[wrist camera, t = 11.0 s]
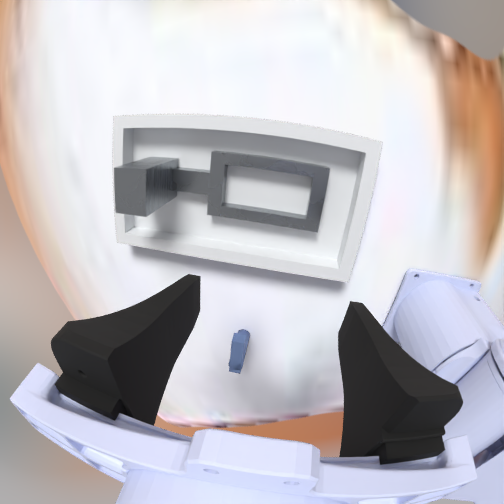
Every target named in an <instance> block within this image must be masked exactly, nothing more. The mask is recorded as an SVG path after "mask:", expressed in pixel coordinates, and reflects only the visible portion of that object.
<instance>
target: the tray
mask: <svg viewBox="0 0 504 504" xmlns="http://www.w3.org/2000/svg"><path fill="white" fill-rule="evenodd" d="M382 144H383V142H381V141H377V140H374V139H370V138H366V137H362V136H358V135H353V134H349V133H344V132H340V131H335V130H330V129H325V128H320V127H314V126H309V125H303V124H297V123H290V122H283V121H276V120H268V119H259V118H249V117H238V116H224V115H206V114H141V115H123V116H114V120H113V149H112V170H113V200H114V216H115V228H116V239H117V243H122V244H127V245H132V246H138V247H143V248H148V249H154V250H159V251H165V252H170V253H176V254H181V255H187V256H192V257H198V258H204V259H209V260H215V261H221V262H226V263H232V264H238V265H244V266H250V267H255V268H261V269H267V270H273V271H279V272H285V273H292V274H298V275H304V276H310V277H316V278H322V279H329V280H335V281H341V282H349V278H350V275H351V272H352V269H353V266H354V262H355V259H356V256H357V252H358V249H359V245H360V242H361V238H362V234H363V230H364V227H365V223H366V219H367V215H368V211H369V207H370V203H371V198H372V194H373V189H374V185H375V180H376V175H377V171H378V165H379V160H380V155H381V149H382ZM215 150H217V151H227V152H236V153H245V154H253V155H261V156H268V157H275V158H282V159H288V160H294V161H300V162H306V163H312V164H317V165H322V166H327V167H329V168H330V173H329V179H328V184H327V189H326V195H325V200H324V205H323V210H322V215H321V219H320V224H319V229H318V233H317V232H311V231H306V230H300V229H294V228H288V227H282V226H276V225H270V224H264V223H258V222H251V221H245V220H239V219H232V218H226V217H219V216H212V215H207V206H208V195H205V194H197V193H189V192H180V191H177V197H175V198H174V199H172V200H171V201H169V202H168V203H166V204H165V205H163V206H162V207H160V208H159V209H157V210H156V211H154V212H153V213H151V214H150V215H149V216H147V217H142V216H135V215H128V214H121V213H116V211H115V191H114V167H118V166H121V165H124V164H127V163H130V162H134V161H137V160H140V159H144V158H147V157H169V158H179V163H178V167H182V168H193V169H204V170H210V163H211V152H212V151H215ZM311 182H312V177H308V176H302V175H296V174H290V173H284V172H278V171H271V170H264V169H257V168H250V167H242V166H233V165H228V168H227V179H226V190H225V203H233V204H239V205H246V206H253V207H259V208H266V209H272V210H278V211H284V212H290V213H296V214H302V215H306V210H307V204H308V199H309V193H310V188H311Z"/></svg>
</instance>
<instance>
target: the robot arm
mask: <svg viewBox="0 0 504 504" xmlns="http://www.w3.org/2000/svg"><path fill="white" fill-rule="evenodd" d="M416 274H418V275H417V276H416V277H414V276H415V275H416ZM480 288H481V283H480V282H479V281H476V280H471V279H466V278H460V277H455V276H450V275H444V274H439V273H433V272H428V271H422V270H417V269H409V270H408V271H407V272H406V274H405V277H404V280H403V282H402V285H401V287H400V290H399V292H398V294H397V297H396V299H395V301H394V304H393V306H392V308H391V310H390V313H389V315H388V317H387V319H386V321H385V323H384V326H383V327H382V326H381V325H380V324H379V323H378V321H377V320H376V319H375V318H374V316H373V315H372V314H371V313H370V311H369V310H368V309H367V308H366V307H365V305H364V304H363V303H359V302H352V301H350V304H349V307H348V309H347V312H346V315H345V317H344V320H343V323H342V325H341V328H340V330H339V333H338V351H339V359H340V366H341V373H342V381H343V389H344V418H343V419H344V420H343V432H342V442H341V450H340V456H339V457H320V450H319V449H318V448H316V447H315V446H313V445H312V444H309V443H304V442H299V441H292V440H282V439H274V438H266V437H259V436H253V435H247V434H241V433H236V432H231V431H225V430H218V429H204V430H199V431H196V432H195V434H194V435H193V437H188V436H184V435H181V434H177V433H174V432H171V431H167V430H165V429H162V428H158V427H156V426H154V423H155V420H156V416H157V413H158V409H159V406H160V403H161V400H162V397H163V394H164V391H165V388H166V385H167V382H168V379H169V377H170V374H171V372H172V369H173V366H174V364H175V362H176V360H177V358H178V356H179V354H180V352H181V351H182V349H183V347H184V345H185V343H186V341H187V339H188V337H189V336H190V334H191V332H192V330H193V328H194V326H195V323H196V320H197V317H198V315H199V312H200V276H196V275H190V274H188V275H186V276H184V277H183V278H181V279H180V280H178V281H177V282H175V283H173V284H172V285H170V286H169V287H167V288H165V289H164V290H162V291H161V292H159V293H157V294H155V295H153V296H152V297H150V298H148V299H146V300H144V301H142V302H140V303H138V304H136V305H133V306H131V307H129V308H126V309H123V310H120V311H117V312H114V313H111V314H108V315H104V316H100V317H95V318H91V319H84V320H77V321H68V322H67V323H66V324H65V325H64V327H62V329H61V330H60V331H59V332H58V333H57V334H56V335H55V336H54V337H53V339H52V340H51V348H52V351H53V354H54V356H55V358H56V360H57V362H58V363H59V366H60V367H61V369H62V371H63V374H62V375H61V376H60V377H59V376H58V375H57V374H55V373H54V372H53V371H51V370H50V369H48V368H46V367H45V366H43V365H41V364H40V363H37V364H36V366H35V367H34V368H33V369H32V371H31V372H30V373H29V374H28V375H27V377H26V378H25V379H24V381H23V382H22V383H21V384H20V386H19V387H18V388H17V390H16V391H15V392H14V394H13V395H12V396H11V398H10V400H11V402H12V403H13V404H14V405H15V407H16V408H17V409H18V410H19V411H20V412H21V414H22V415H23V416H24V417H25V418H26V419H27V420H28V421H29V423H30V424H31V425H32V426H33V427H34V428H35V429H36V430H38V431H39V432H40V433H42V434H43V435H45V436H46V437H47V438H49V439H50V440H52V441H53V442H55V443H56V444H57V445H59V446H60V447H62V448H63V449H65V450H66V451H68V452H69V453H71V454H73V455H74V456H76V457H77V458H79V459H81V460H82V461H84V462H85V463H87V464H89V465H91V466H92V467H94V468H96V469H98V470H99V471H101V472H103V473H105V474H107V475H109V476H110V477H112V478H114V479H116V480H118V481H120V482H122V483H124V485H123V487H122V490H121V492H120V494H119V497H118V499H117V502H116V504H425V503H429V502H433V501H436V500H439V499H442V498H444V499H451V500H463V501H471V502H474V504H504V326H503V325H502V323H501V322H500V321H499V319H498V318H497V316H496V315H495V314H494V312H493V311H492V310H491V308H490V307H489V306H488V304H487V303H486V302H485V301H484V299H483V298H482V297H481V295H480V294H479V293H478V292H479V290H480ZM396 342H399V343H401V346H402V348H401V347H400V346H399V345H398V344H397V343H396Z"/></svg>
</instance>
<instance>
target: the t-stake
mask: <svg viewBox="0 0 504 504" xmlns="http://www.w3.org/2000/svg"><path fill="white" fill-rule="evenodd" d="M249 337H250V333H249V332H248V331H246V330H239V331H238V333H234V336H233V339H232V345H231V356H230V361H229V367H230V368H229V371H230V372H235V373H240V372H241V369H242V366H243V362H244V358H245V353H246V349H247V345H248V341H249Z"/></svg>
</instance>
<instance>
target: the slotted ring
mask: <svg viewBox="0 0 504 504" xmlns="http://www.w3.org/2000/svg"><path fill="white" fill-rule="evenodd" d="M178 163H179V158H169V157H147V158H144V159H140V160H137V161H134V162H130V163H127V164H124V165H121V166H118V167H114V191H115V211H116V213H121V214H128V215H135V216H142V217H147V216H149V215H150V214H151V213H153V212H154V211H156V210H157V209H159V208H160V207H162V206H163V205H165V204H166V203H168V202H169V201H171V200H172V199H174V198H175V197H177V191H180V192H189V193H197V194H205V195H208V206H207V215H212V216H219V217H226V218H232V219H239V220H245V221H251V222H258V223H264V224H270V225H276V226H282V227H288V228H294V229H300V230H306V231H311V232H317V233H318V229H319V224H320V219H321V215H322V210H323V205H324V200H325V195H326V189H327V184H328V179H329V173H330V168H329V167H327V166H322V165H317V164H312V163H306V162H300V161H294V160H288V159H282V158H275V157H268V156H261V155H253V154H245V153H236V152H227V151H217V150H215V151H212V152H211V163H210V170H204V169H193V168H182V167H178ZM228 165H233V166H242V167H250V168H257V169H264V170H271V171H278V172H284V173H290V174H296V175H302V176H308V177H312V182H311V188H310V193H309V199H308V204H307V210H306V215H302V214H296V213H290V212H284V211H278V210H272V209H266V208H259V207H253V206H246V205H239V204H233V203H225V190H226V179H227V168H228Z"/></svg>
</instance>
